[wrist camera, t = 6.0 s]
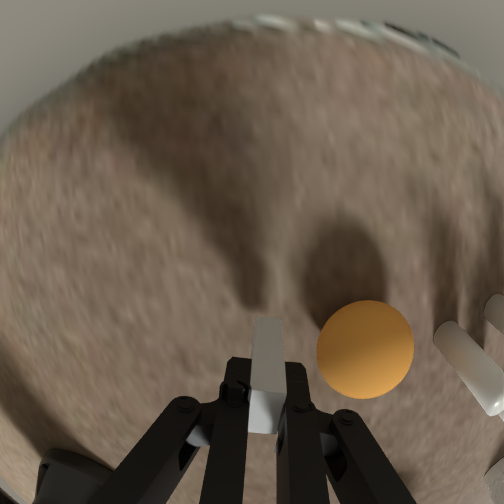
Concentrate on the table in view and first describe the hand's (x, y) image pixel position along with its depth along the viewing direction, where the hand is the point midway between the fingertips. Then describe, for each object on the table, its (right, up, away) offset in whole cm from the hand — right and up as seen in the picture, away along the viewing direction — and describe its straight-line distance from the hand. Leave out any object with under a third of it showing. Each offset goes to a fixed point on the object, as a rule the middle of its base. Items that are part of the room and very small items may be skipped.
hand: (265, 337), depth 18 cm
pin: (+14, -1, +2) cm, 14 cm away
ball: (+6, -1, -1) cm, 6 cm away
